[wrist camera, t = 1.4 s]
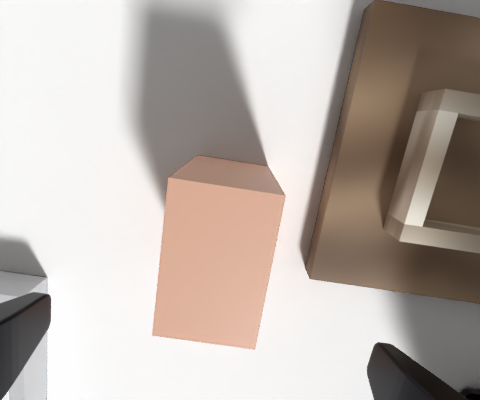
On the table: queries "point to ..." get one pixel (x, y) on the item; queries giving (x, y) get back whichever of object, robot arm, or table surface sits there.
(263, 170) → the key block
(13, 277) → the bracket rim
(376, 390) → the robot arm
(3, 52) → the table surface
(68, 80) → the table surface
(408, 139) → the socket board
